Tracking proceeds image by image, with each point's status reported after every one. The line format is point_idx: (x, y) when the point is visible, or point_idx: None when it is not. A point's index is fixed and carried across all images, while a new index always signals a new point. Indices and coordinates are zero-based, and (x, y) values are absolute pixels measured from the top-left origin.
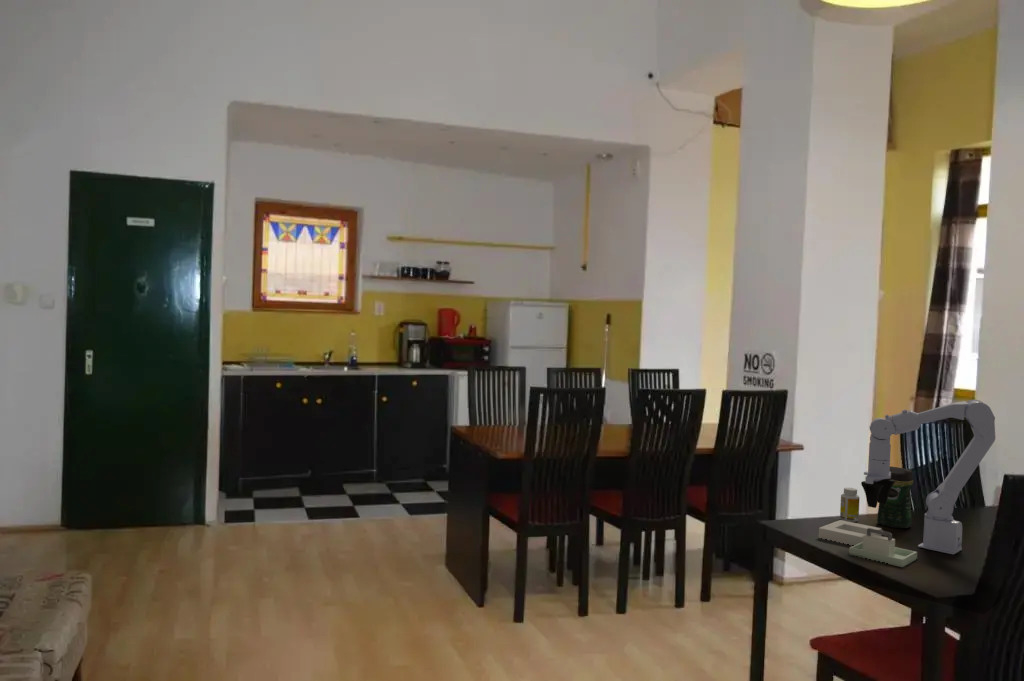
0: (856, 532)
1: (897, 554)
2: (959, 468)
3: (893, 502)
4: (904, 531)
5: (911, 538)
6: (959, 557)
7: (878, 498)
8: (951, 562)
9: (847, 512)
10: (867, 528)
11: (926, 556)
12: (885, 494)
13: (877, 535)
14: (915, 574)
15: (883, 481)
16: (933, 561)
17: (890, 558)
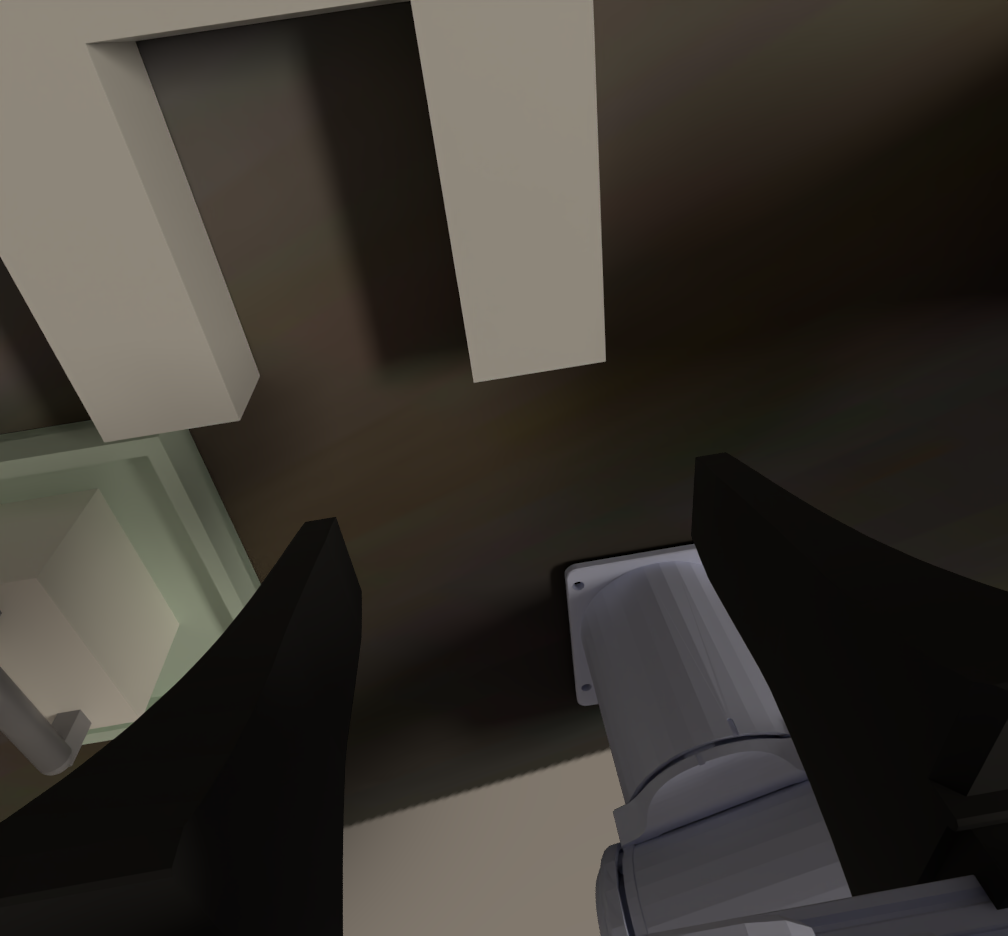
0: (198, 324)
1: (222, 621)
2: None
3: None
4: (989, 301)
5: (785, 434)
6: (563, 719)
7: (723, 497)
8: (431, 742)
9: None
10: (470, 292)
11: (415, 661)
12: (757, 635)
13: (71, 632)
14: (34, 776)
15: (897, 833)
16: (356, 711)
17: None
